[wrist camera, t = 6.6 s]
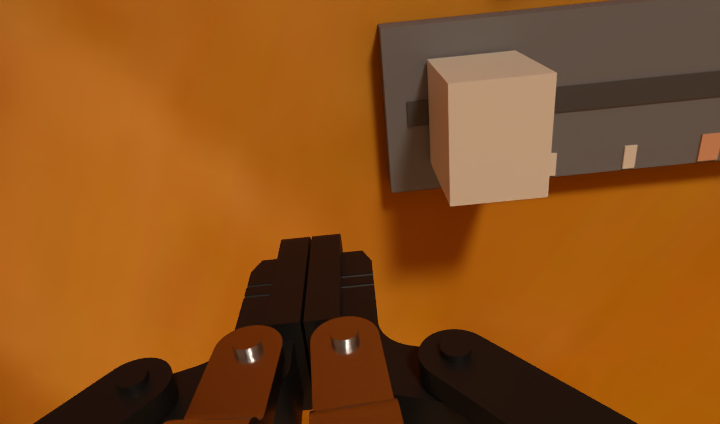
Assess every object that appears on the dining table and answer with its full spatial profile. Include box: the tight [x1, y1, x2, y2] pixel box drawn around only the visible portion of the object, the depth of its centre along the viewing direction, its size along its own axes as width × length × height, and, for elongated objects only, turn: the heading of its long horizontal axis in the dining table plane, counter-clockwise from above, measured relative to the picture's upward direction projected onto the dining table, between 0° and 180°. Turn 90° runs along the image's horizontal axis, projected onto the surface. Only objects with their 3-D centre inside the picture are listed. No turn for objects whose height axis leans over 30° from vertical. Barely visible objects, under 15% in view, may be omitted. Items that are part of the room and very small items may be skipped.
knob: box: [427, 50, 557, 206], centre depth 23 cm, size 4×5×5 cm
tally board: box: [378, 0, 720, 193], centre depth 26 cm, size 24×8×2 cm, turn 95°
